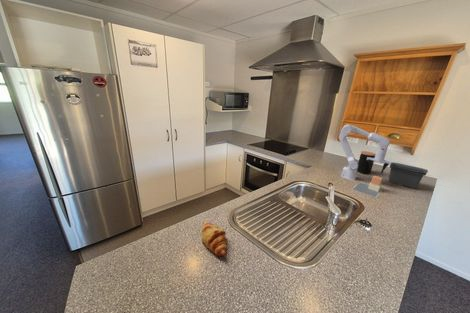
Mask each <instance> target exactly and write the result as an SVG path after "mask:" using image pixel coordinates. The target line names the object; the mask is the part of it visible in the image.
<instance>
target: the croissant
mask: <svg viewBox="0 0 470 313" xmlns="http://www.w3.org/2000/svg"><path fill="white" fill-rule="evenodd" d="M202 227H203V228H202V229H201V242H202V243H204V246H206V248H209V250H210V251H212V252H213V253H214V254H215V255H216V256H219V257H225V256H226V254H227V252H226V250H227V237H226V230H224V229H223V228H220V227H219V226H218V225H214V224H213V223H211V222H208V221H205V223H204V224H203V226H202Z"/></svg>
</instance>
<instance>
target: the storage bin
mask: <svg viewBox="0 0 470 313" xmlns="http://www.w3.org/2000/svg"><path fill="white" fill-rule="evenodd" d="M388 166H389V168H390V171H389V175H388V182H389V183H391V184H392V183H393V184H396V185H400V186H403V187H406V188H411V189H415V190H417V189H418V187H419V185H420V183H421V181H422V180H423V177H426V176H427V173H429V170H428V169H426V168H422V167H417V166H414V165H413V166H412V165H409V164H404V163H399V162H394V161H393V162H392V161H391V165H388Z"/></svg>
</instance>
